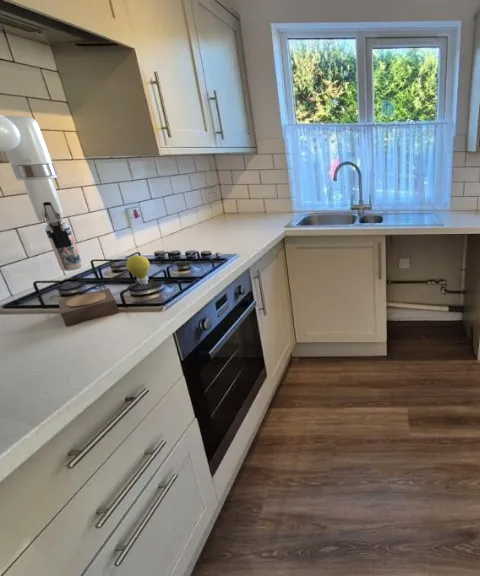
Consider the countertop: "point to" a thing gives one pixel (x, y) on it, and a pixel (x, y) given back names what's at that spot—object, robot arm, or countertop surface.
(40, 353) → the countertop surface
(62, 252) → the beer can
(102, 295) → the block
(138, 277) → the light bulb
